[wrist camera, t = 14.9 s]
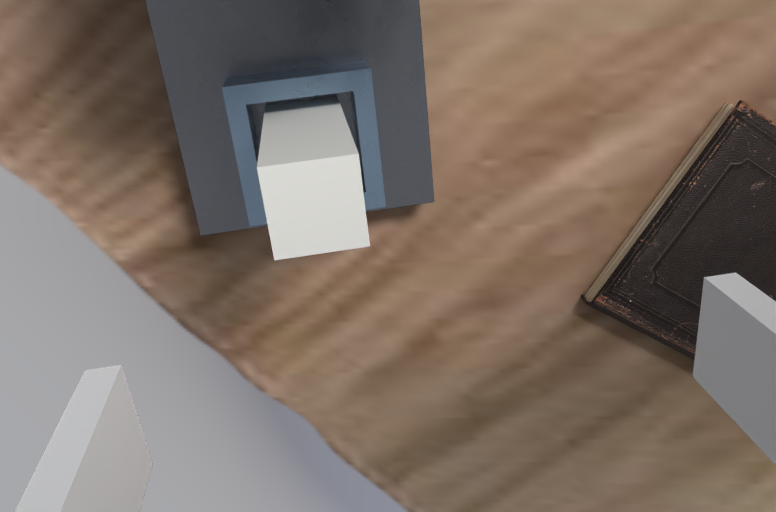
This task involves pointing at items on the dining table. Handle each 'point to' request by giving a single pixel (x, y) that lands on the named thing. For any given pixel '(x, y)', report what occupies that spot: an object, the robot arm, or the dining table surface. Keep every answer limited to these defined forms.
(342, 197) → the plug
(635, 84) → the dining table surface
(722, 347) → the robot arm
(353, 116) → the stepped holder stand
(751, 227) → the hardcover book
